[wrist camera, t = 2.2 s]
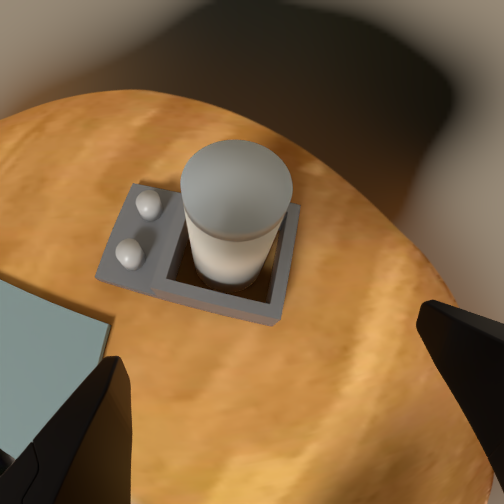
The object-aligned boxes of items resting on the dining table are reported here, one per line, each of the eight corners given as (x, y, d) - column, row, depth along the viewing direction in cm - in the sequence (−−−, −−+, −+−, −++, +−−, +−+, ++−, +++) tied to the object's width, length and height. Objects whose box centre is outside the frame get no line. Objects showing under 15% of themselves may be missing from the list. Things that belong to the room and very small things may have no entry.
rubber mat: (111, 325, 20) (108, 324, 19) (78, 490, 14) (75, 493, 14) (-13, 273, 20) (-16, 271, 19) (-41, 412, 14) (-45, 412, 14)
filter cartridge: (267, 237, 24) (299, 153, 14) (254, 299, 22) (283, 244, 12) (204, 222, 24) (200, 131, 14) (186, 283, 22) (164, 216, 12)
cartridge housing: (291, 224, 24) (300, 205, 21) (272, 326, 21) (280, 319, 18) (135, 188, 24) (127, 167, 21) (98, 280, 21) (83, 267, 18)
